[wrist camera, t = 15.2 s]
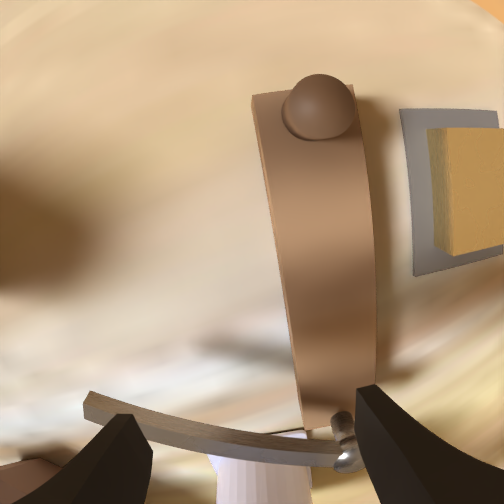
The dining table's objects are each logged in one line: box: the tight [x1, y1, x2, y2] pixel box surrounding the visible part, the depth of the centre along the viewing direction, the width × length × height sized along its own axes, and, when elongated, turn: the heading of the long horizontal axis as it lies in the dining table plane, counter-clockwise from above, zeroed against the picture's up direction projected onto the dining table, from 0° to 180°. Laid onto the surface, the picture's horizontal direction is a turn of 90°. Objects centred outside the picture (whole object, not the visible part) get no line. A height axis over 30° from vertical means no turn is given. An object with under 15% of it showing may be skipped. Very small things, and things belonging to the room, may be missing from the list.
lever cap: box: [426, 128, 504, 256], centre depth 15 cm, size 7×5×2 cm
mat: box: [399, 109, 503, 277], centre depth 17 cm, size 10×8×1 cm
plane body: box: [251, 74, 377, 431], centre depth 15 cm, size 19×4×6 cm, turn 10°
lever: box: [83, 391, 365, 473], centre depth 15 cm, size 15×2×4 cm, turn 74°
